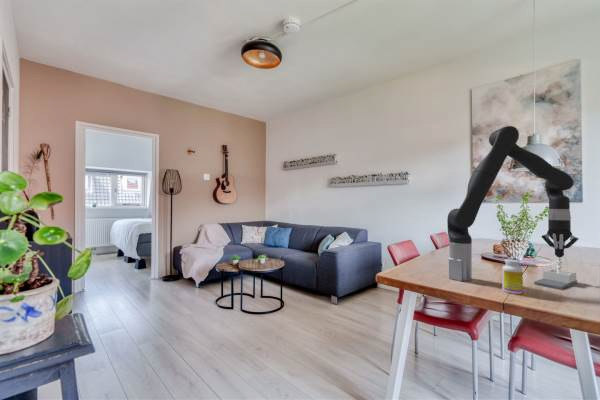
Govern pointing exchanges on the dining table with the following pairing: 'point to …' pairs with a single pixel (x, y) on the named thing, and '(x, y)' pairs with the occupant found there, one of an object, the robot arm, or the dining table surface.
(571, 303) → the dining table surface
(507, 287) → the supplement bottle
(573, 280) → the end cap plate
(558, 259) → the chess piece
